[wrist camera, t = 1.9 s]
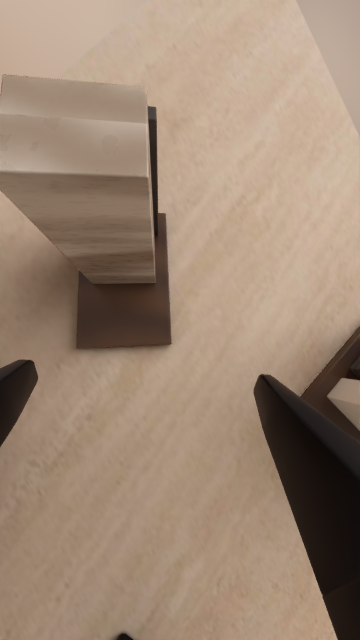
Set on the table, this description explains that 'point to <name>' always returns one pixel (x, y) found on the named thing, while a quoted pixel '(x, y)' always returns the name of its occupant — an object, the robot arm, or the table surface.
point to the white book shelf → (92, 198)
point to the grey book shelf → (350, 363)
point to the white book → (347, 399)
